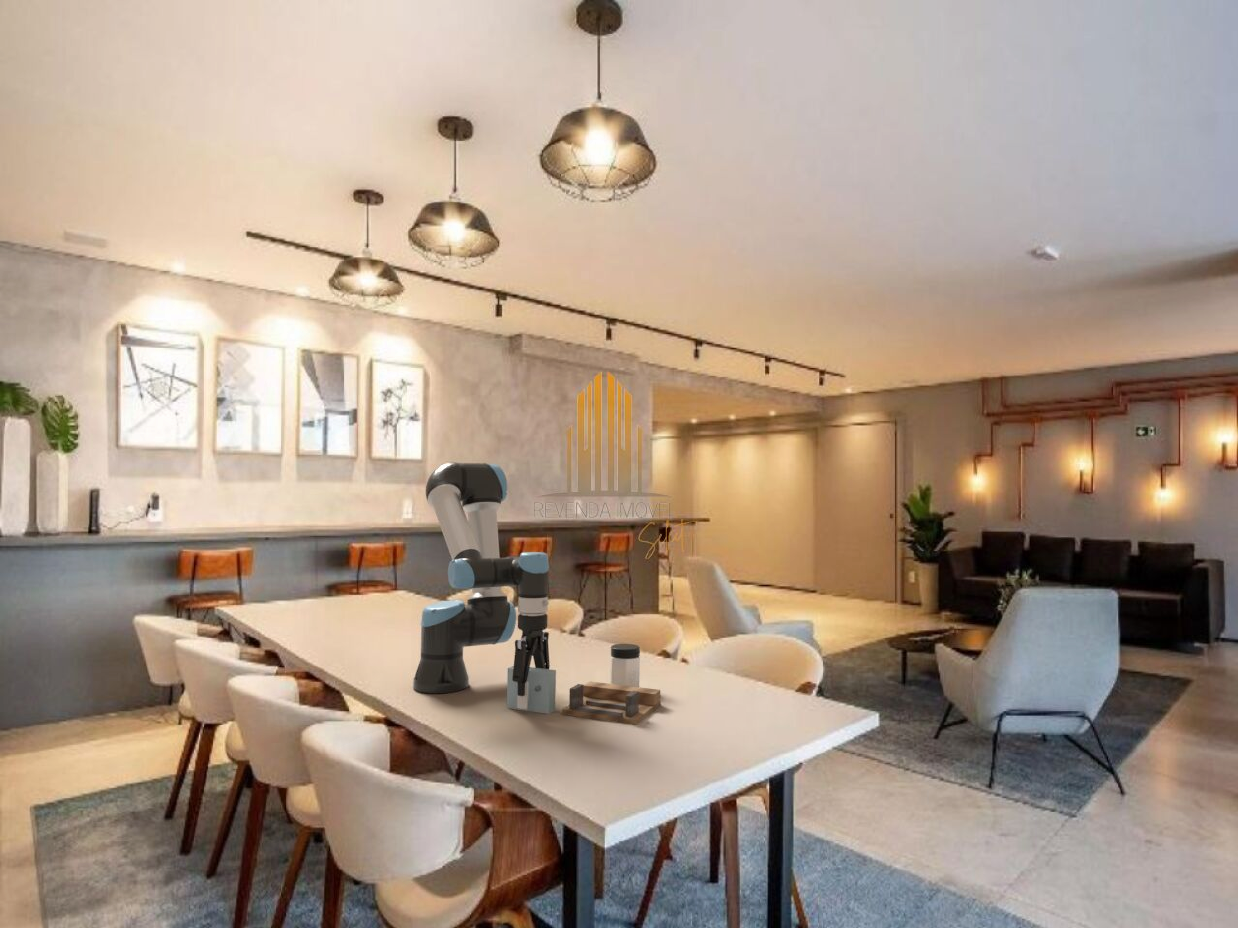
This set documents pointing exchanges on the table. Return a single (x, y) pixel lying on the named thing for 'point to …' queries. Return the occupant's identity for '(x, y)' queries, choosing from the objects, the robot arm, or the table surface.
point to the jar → (625, 664)
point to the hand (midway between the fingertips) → (531, 703)
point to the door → (534, 690)
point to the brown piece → (612, 702)
